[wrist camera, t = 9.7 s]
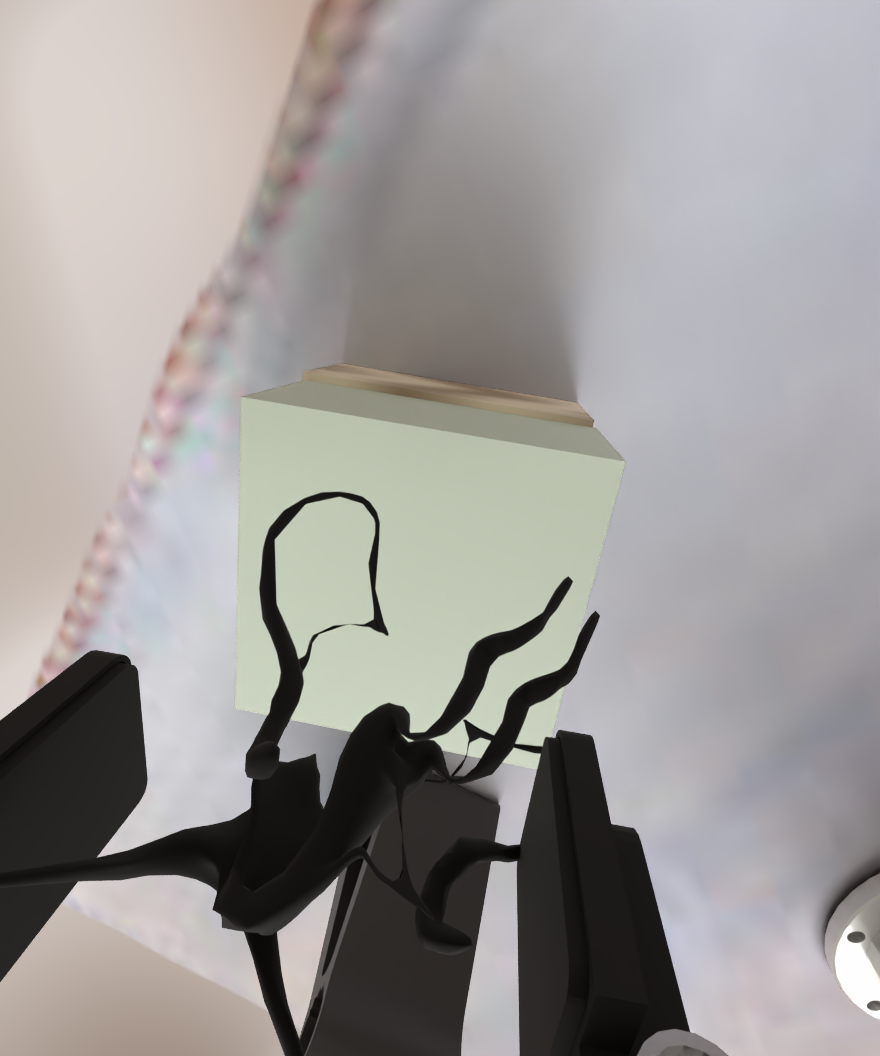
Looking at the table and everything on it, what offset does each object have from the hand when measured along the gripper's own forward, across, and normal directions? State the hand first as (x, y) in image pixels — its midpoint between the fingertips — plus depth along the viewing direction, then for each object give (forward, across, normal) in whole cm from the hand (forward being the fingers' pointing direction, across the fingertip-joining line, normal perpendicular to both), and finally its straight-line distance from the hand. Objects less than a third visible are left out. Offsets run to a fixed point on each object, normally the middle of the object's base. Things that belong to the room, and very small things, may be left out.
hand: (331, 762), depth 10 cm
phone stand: (+16, -1, +20) cm, 26 cm away
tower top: (+12, 0, 0) cm, 12 cm away
